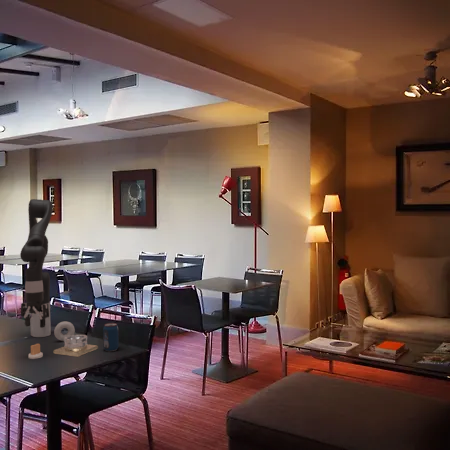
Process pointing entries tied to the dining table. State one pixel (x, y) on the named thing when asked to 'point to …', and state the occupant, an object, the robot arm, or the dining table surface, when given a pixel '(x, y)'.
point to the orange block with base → (35, 352)
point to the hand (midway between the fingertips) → (35, 326)
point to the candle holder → (75, 346)
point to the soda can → (110, 337)
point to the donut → (60, 326)
